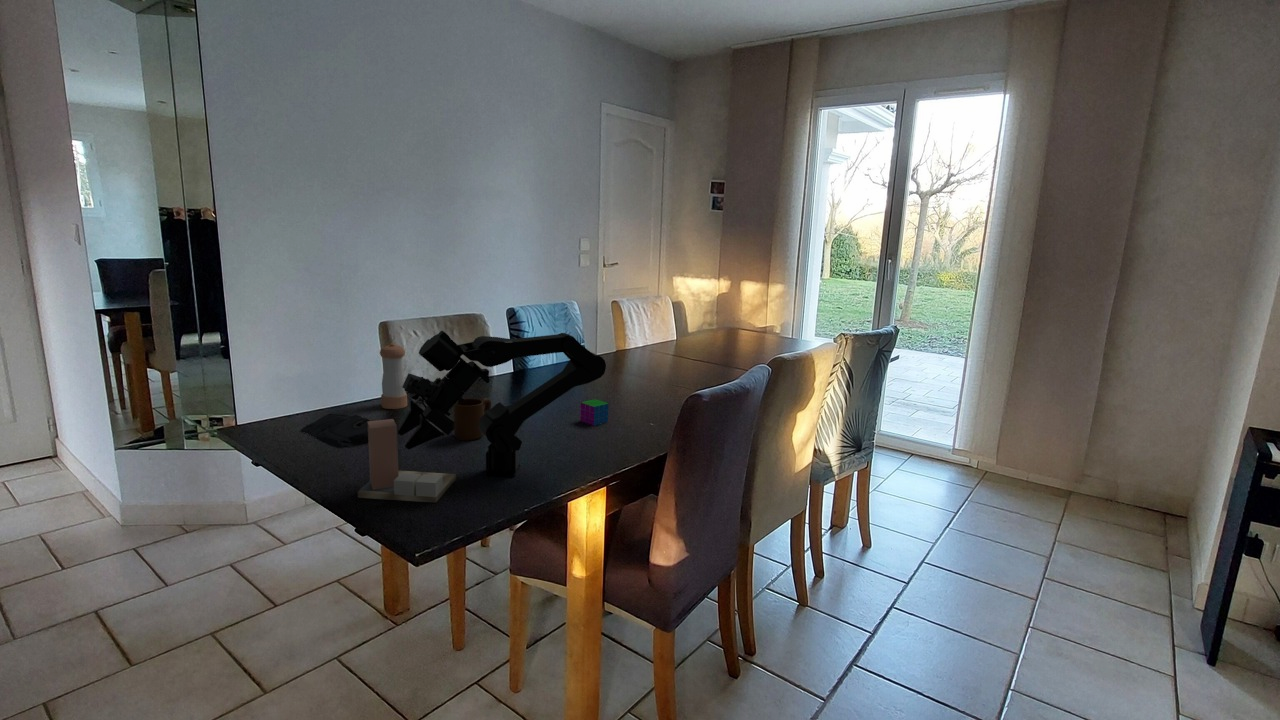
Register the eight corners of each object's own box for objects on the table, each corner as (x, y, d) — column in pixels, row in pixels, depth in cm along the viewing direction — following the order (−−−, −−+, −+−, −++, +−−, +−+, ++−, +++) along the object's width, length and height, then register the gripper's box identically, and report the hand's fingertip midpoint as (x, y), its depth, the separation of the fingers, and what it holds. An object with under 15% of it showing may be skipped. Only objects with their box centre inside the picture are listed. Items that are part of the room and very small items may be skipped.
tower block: (395, 477, 133) (393, 418, 131) (398, 486, 129) (396, 425, 126) (370, 480, 131) (367, 421, 128) (372, 489, 127) (370, 428, 124)
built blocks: (442, 489, 129) (442, 475, 129) (435, 497, 125) (435, 483, 125) (402, 486, 130) (402, 472, 129) (394, 494, 126) (393, 480, 125)
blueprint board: (455, 479, 137) (455, 473, 137) (435, 502, 126) (435, 496, 125) (384, 474, 138) (384, 468, 138) (357, 497, 126) (357, 491, 126)
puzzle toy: (608, 422, 183) (608, 403, 181) (593, 426, 178) (594, 406, 177) (594, 417, 186) (595, 399, 185) (580, 421, 182) (580, 402, 181)
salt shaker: (376, 406, 186) (373, 343, 182) (393, 401, 193) (391, 340, 189) (395, 410, 184) (393, 346, 180) (412, 404, 191) (410, 342, 187)
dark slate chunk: (350, 419, 176) (349, 403, 175) (399, 436, 164) (398, 419, 163) (295, 432, 163) (294, 415, 162) (344, 452, 151) (343, 433, 150)
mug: (479, 425, 174) (479, 393, 172) (501, 431, 170) (501, 397, 168) (447, 437, 163) (447, 402, 161) (469, 443, 160) (469, 407, 158)
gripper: (418, 352, 137) (366, 405, 134) (436, 370, 121) (378, 431, 118) (455, 383, 143) (406, 435, 140) (477, 405, 127) (422, 464, 124)
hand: (402, 440), depth 130 cm, fingers open, 9 cm apart
